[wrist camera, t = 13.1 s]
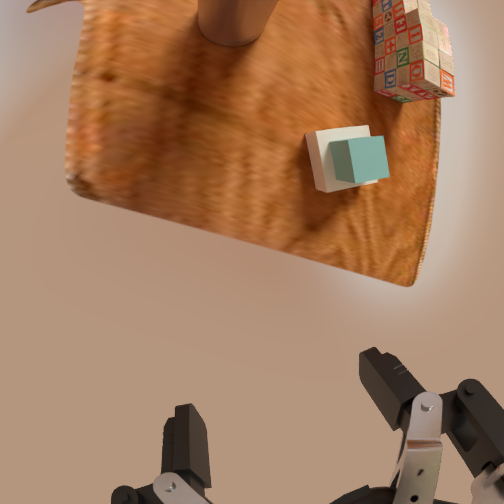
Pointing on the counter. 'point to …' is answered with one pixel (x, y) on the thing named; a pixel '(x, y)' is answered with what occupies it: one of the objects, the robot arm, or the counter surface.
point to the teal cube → (359, 159)
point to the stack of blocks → (411, 52)
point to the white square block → (323, 156)
